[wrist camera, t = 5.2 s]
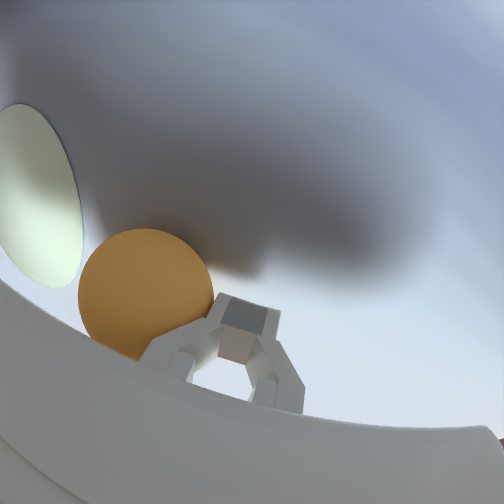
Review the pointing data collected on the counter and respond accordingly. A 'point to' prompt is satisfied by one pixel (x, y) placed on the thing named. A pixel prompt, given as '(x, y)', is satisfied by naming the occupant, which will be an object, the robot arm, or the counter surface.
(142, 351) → the ball
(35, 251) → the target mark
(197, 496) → the robot arm
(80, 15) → the counter surface
